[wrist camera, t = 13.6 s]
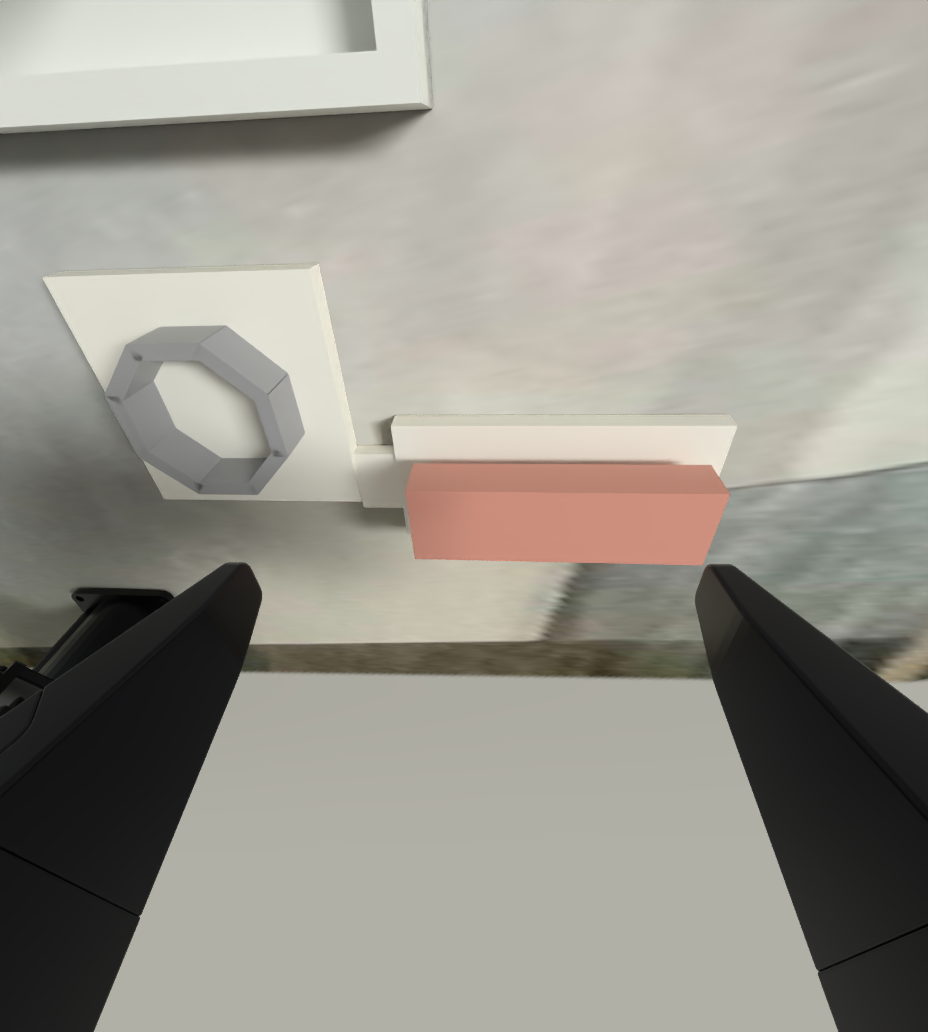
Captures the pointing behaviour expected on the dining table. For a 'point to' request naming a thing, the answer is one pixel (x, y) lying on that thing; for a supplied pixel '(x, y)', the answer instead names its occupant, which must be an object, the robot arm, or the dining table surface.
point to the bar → (565, 512)
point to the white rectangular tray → (207, 61)
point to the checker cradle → (302, 395)
